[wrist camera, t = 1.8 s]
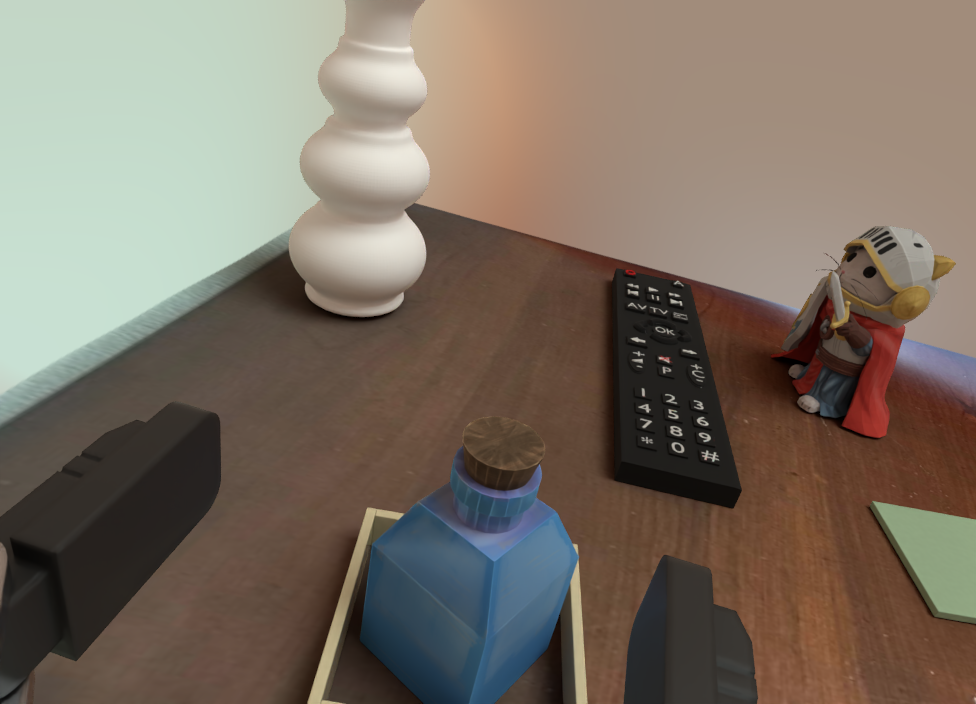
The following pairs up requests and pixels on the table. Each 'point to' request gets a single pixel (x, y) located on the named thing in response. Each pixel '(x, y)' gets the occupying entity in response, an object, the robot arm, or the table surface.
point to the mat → (935, 556)
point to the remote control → (666, 394)
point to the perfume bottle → (471, 573)
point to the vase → (365, 168)
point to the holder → (369, 533)
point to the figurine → (862, 325)
